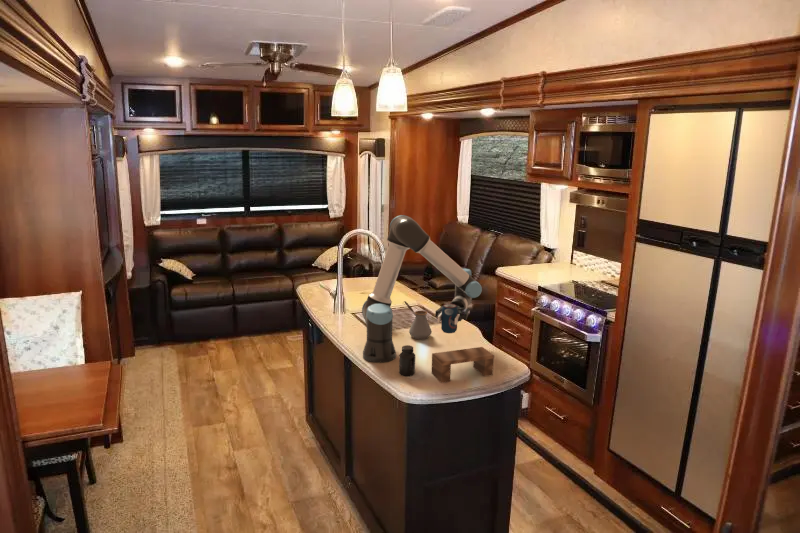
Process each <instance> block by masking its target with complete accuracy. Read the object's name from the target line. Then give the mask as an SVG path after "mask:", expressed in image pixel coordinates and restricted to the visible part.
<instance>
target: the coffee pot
mask: <svg viewBox="0 0 800 533" xmlns="http://www.w3.org/2000/svg"><path fill="white" fill-rule="evenodd" d="M402 304H404V305H406V306H407V308H408V309H409V310H410V311H411V313H413V314H414V316H415V317H414V319H413V320H412V323H411V326H410V328H409V331H408V333H409V334H410V336H411V337H412V338H413V339H415V340H426V339H428V338H429V337H430V336H431V335H432V334H433V333H432V332H433V331H432V329H431V326H430V323H429V321H428V319H427V314H428V311H425V310H416V311H415V310H414V309H413V307H411V306H410V305H409V302H407V301H403V302H402Z"/></svg>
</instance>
